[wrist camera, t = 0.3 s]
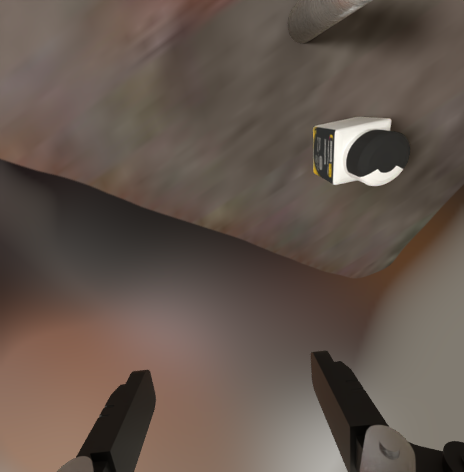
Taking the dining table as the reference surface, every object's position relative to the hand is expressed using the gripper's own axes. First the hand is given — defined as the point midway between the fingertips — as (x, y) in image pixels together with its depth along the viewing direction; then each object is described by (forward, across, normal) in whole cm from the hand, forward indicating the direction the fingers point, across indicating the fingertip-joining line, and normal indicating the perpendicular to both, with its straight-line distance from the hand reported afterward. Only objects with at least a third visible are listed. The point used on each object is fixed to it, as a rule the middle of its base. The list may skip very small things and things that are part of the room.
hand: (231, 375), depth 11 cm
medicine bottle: (+29, -18, -13) cm, 36 cm away
